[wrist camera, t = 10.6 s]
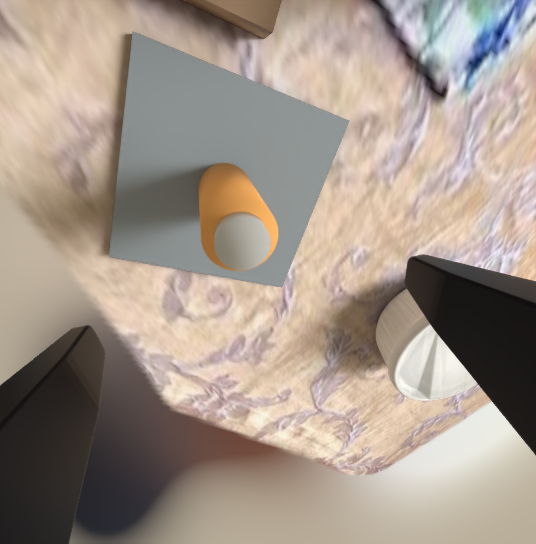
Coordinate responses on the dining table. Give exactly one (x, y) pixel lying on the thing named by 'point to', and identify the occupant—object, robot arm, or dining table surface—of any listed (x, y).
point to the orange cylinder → (234, 219)
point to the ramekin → (418, 353)
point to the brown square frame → (243, 13)
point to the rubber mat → (212, 158)
